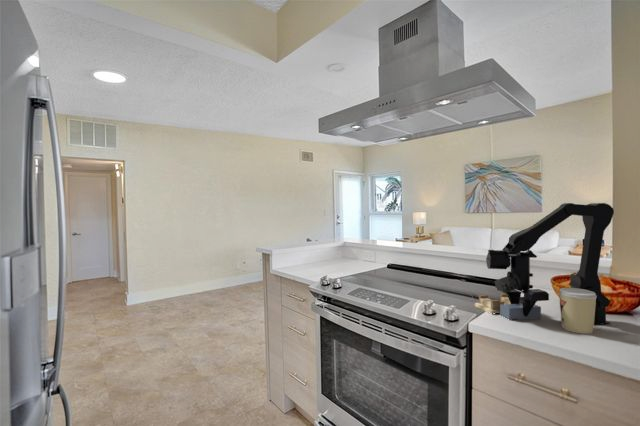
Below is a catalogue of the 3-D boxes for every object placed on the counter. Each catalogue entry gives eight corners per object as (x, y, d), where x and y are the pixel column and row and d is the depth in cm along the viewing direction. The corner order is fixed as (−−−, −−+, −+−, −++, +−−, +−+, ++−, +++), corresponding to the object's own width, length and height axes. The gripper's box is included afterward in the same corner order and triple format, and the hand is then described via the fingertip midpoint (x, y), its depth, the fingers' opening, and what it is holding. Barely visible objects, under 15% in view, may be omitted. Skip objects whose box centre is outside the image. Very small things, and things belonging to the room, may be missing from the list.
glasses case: (540, 318, 112) (540, 306, 111) (509, 320, 110) (509, 308, 110) (530, 313, 116) (530, 302, 116) (500, 315, 114) (500, 304, 114)
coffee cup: (561, 321, 108) (561, 286, 108) (598, 328, 101) (598, 290, 101) (556, 329, 101) (555, 291, 101) (594, 337, 95) (594, 297, 94)
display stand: (527, 312, 118) (527, 299, 118) (491, 314, 116) (491, 302, 116) (507, 304, 128) (507, 292, 128) (475, 306, 126) (474, 294, 126)
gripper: (482, 265, 121) (482, 307, 121) (518, 276, 102) (519, 324, 103) (509, 264, 122) (509, 305, 123) (550, 274, 104) (550, 322, 104)
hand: (520, 313), depth 113 cm, fingers closed on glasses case, 4 cm apart
